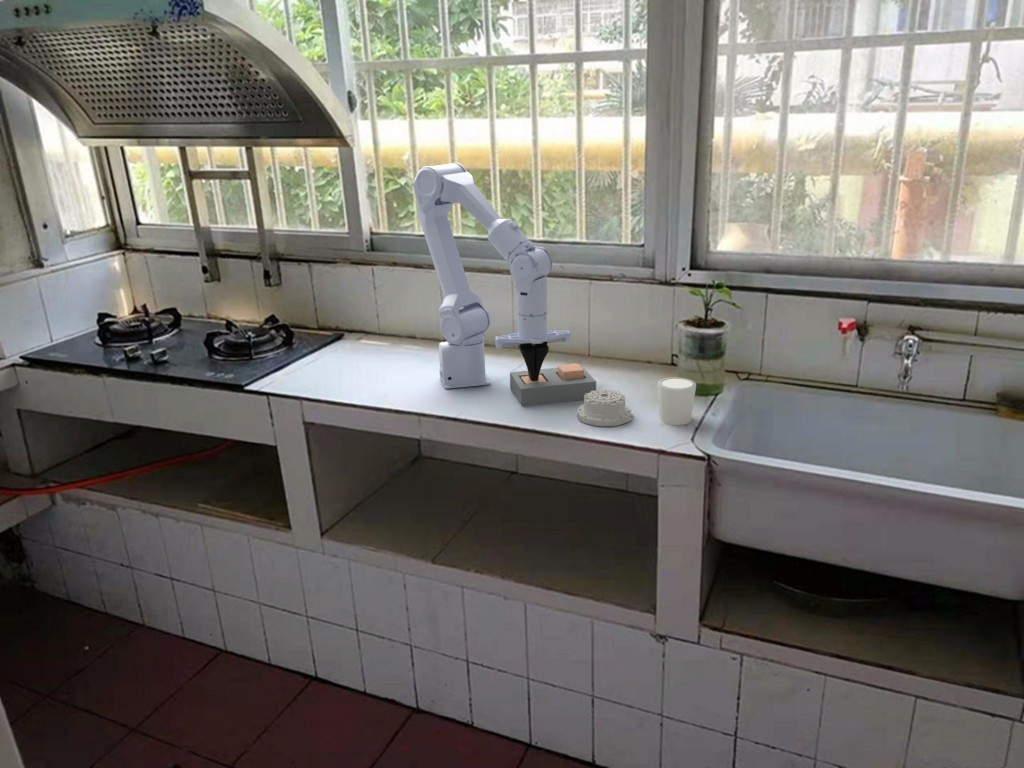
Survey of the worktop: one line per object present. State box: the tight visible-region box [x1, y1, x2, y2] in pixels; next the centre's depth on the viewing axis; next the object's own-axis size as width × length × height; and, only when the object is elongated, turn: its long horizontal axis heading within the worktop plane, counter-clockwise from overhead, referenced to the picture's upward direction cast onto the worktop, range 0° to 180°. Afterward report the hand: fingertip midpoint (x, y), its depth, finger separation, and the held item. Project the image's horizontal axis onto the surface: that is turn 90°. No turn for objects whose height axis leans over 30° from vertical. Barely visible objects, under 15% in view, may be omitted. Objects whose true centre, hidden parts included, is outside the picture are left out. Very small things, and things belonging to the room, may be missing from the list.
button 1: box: [521, 375, 546, 384], centre depth 157 cm, size 4×4×3 cm
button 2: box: [557, 363, 584, 380], centre depth 158 cm, size 4×4×3 cm
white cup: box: [657, 376, 697, 426], centre depth 143 cm, size 7×7×7 cm
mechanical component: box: [576, 388, 633, 427], centre depth 146 cm, size 10×4×10 cm
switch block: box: [509, 364, 597, 407], centre depth 158 cm, size 15×10×4 cm, turn 102°
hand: (533, 379), depth 157 cm, fingers closed, pressing on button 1
